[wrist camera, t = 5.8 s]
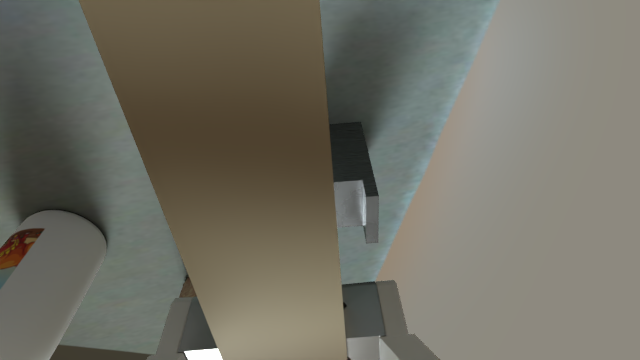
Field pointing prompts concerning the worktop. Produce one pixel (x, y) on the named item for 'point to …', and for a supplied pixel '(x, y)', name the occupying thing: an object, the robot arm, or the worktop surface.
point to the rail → (237, 161)
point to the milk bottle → (45, 281)
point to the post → (354, 180)
